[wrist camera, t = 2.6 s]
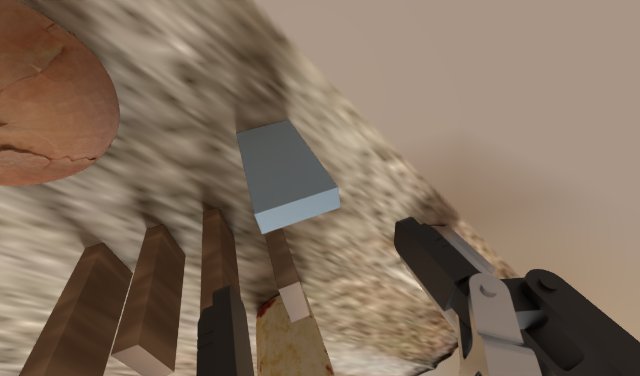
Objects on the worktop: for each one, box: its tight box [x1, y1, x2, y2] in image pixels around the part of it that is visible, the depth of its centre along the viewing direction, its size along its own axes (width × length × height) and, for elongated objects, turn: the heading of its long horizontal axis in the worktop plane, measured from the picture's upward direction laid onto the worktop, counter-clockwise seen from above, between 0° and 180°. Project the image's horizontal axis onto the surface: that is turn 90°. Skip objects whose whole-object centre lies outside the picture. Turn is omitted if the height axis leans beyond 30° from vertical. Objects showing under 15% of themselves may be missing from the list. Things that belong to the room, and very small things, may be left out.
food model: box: [256, 291, 334, 376], centre depth 32 cm, size 10×7×20 cm
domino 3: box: [200, 207, 241, 316], centre depth 24 cm, size 2×5×12 cm, turn 7°
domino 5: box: [265, 228, 310, 322], centre depth 25 cm, size 2×5×12 cm, turn 8°
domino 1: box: [19, 243, 133, 376], centre depth 21 cm, size 2×5×12 cm, turn 8°
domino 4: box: [236, 120, 340, 234], centre depth 20 cm, size 2×5×12 cm, turn 98°
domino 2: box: [111, 224, 185, 376], centre depth 23 cm, size 2×5×12 cm, turn 8°
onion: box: [0, 0, 120, 186], centre depth 13 cm, size 10×9×10 cm
